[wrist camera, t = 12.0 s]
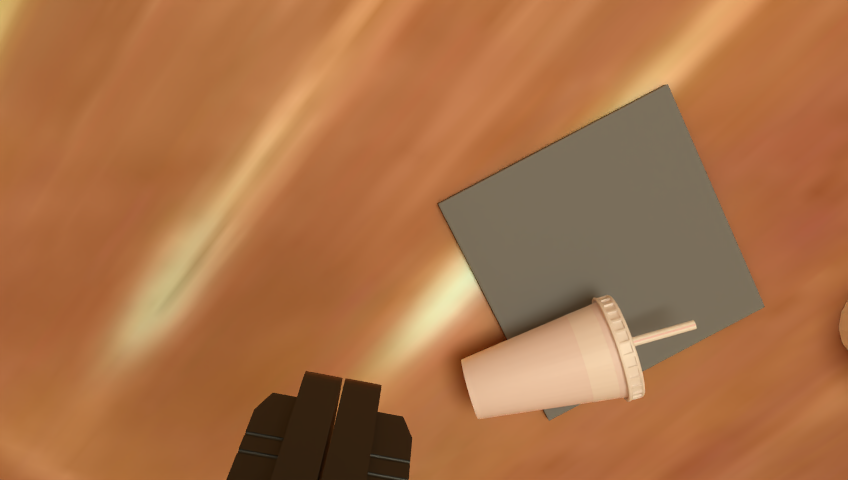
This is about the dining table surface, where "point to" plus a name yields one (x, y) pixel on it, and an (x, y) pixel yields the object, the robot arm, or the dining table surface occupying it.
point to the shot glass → (844, 326)
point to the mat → (608, 232)
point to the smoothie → (562, 363)
